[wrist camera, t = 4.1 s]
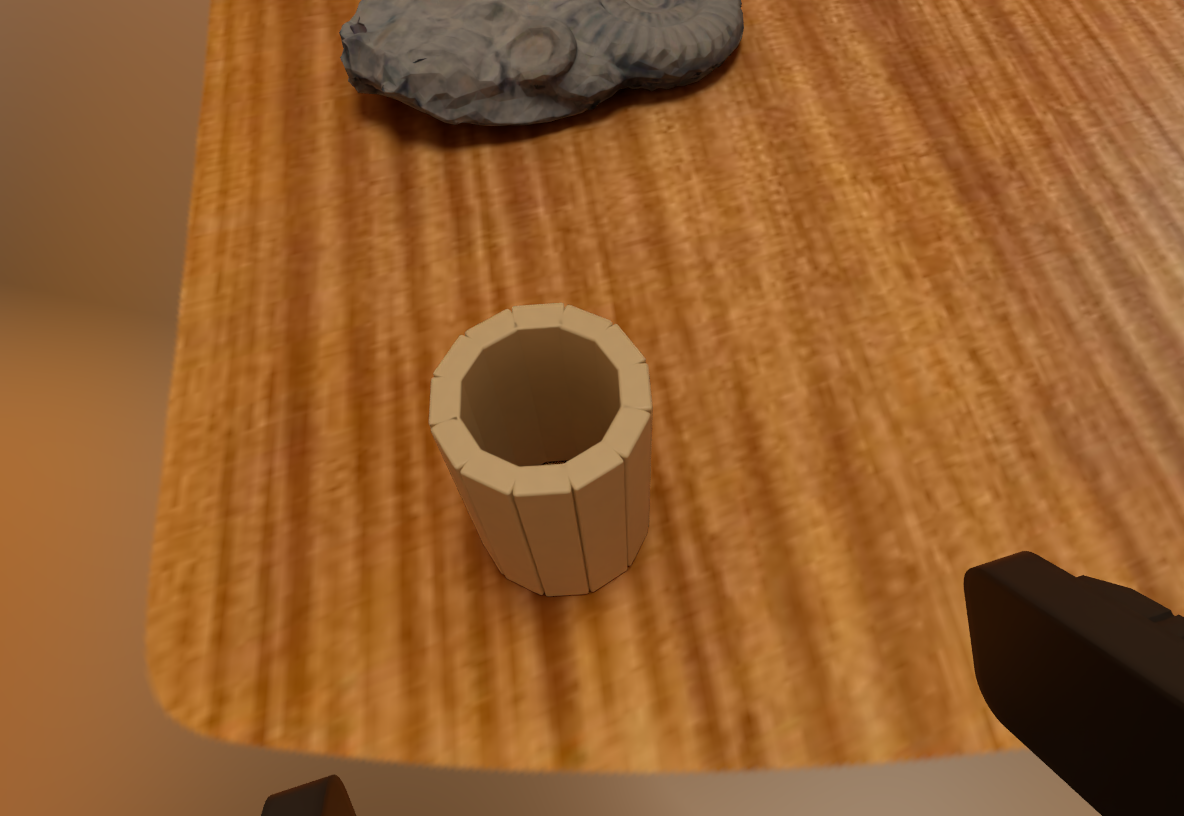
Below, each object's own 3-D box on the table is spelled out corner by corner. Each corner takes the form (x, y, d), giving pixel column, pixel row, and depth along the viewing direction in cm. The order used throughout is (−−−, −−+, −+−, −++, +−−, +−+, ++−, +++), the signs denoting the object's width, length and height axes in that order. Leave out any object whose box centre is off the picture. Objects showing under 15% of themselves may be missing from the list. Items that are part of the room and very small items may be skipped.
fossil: (775, 50, 39) (790, -31, 36) (464, 227, 34) (446, 152, 31) (610, -66, 44) (609, -146, 41) (321, 72, 39) (292, -6, 36)
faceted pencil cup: (681, 535, 27) (695, 417, 20) (535, 630, 26) (498, 538, 19) (589, 413, 29) (574, 271, 23) (452, 494, 28) (391, 369, 21)
